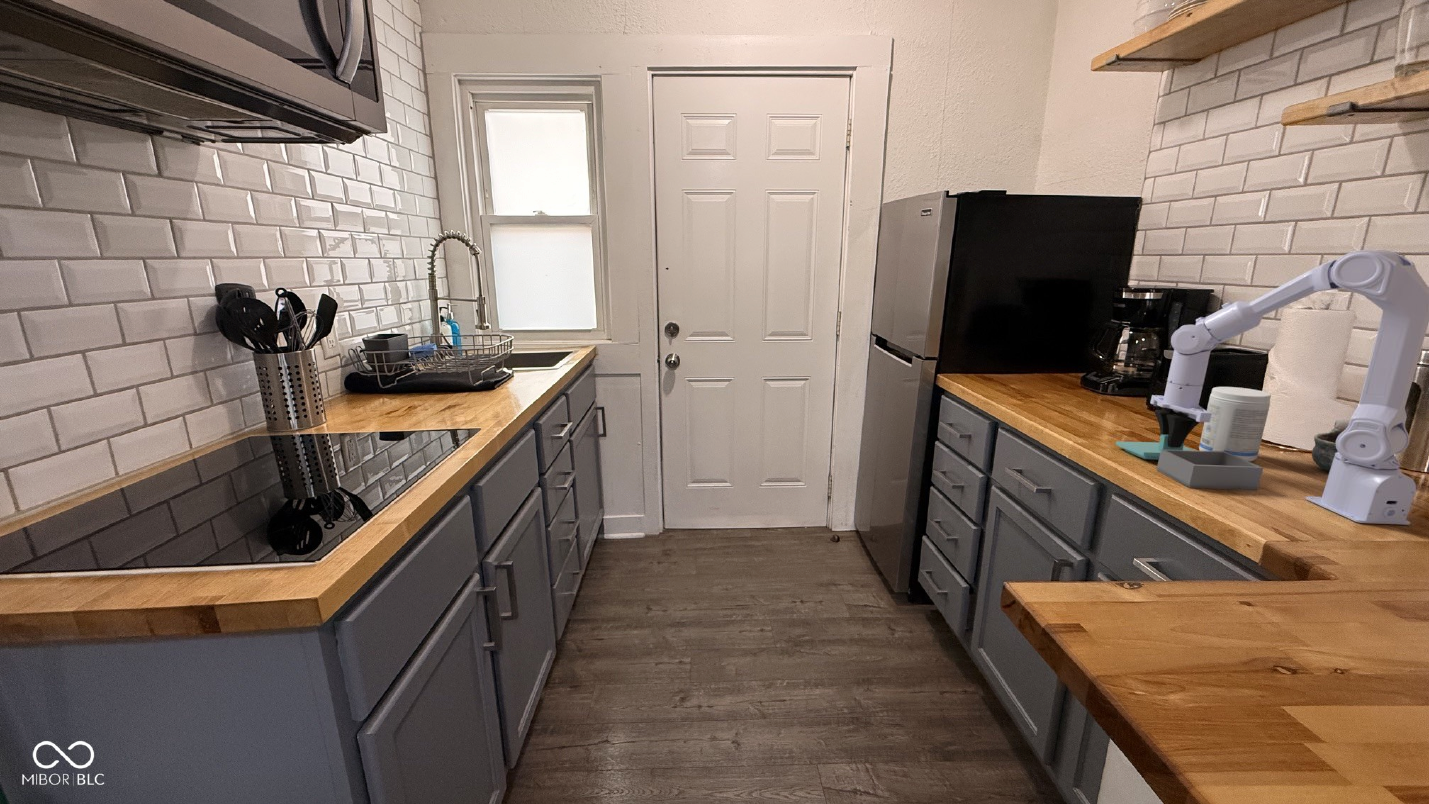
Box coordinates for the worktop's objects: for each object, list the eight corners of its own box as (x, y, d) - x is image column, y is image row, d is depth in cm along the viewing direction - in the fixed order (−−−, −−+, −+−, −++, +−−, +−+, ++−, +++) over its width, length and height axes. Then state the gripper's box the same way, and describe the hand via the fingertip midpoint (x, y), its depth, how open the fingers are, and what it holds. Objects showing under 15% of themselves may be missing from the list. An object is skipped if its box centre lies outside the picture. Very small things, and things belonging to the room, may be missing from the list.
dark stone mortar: (1318, 476, 111) (1331, 427, 108) (1291, 458, 121) (1302, 413, 119) (1387, 484, 106) (1403, 434, 104) (1353, 465, 117) (1366, 419, 115)
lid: (1205, 462, 117) (1209, 437, 116) (1142, 460, 118) (1146, 436, 117) (1172, 450, 126) (1176, 427, 125) (1115, 449, 127) (1118, 426, 126)
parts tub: (1257, 490, 104) (1263, 467, 103) (1188, 487, 105) (1194, 465, 104) (1219, 472, 113) (1224, 451, 111) (1156, 470, 114) (1161, 449, 112)
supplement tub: (1261, 458, 121) (1279, 392, 117) (1248, 467, 115) (1266, 398, 112) (1205, 446, 128) (1220, 384, 125) (1190, 453, 123) (1205, 389, 120)
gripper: (1141, 375, 122) (1129, 434, 125) (1189, 390, 108) (1174, 456, 111) (1175, 376, 121) (1162, 435, 125) (1228, 391, 107) (1212, 457, 111)
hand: (1170, 445), depth 118 cm, fingers closed on lid
